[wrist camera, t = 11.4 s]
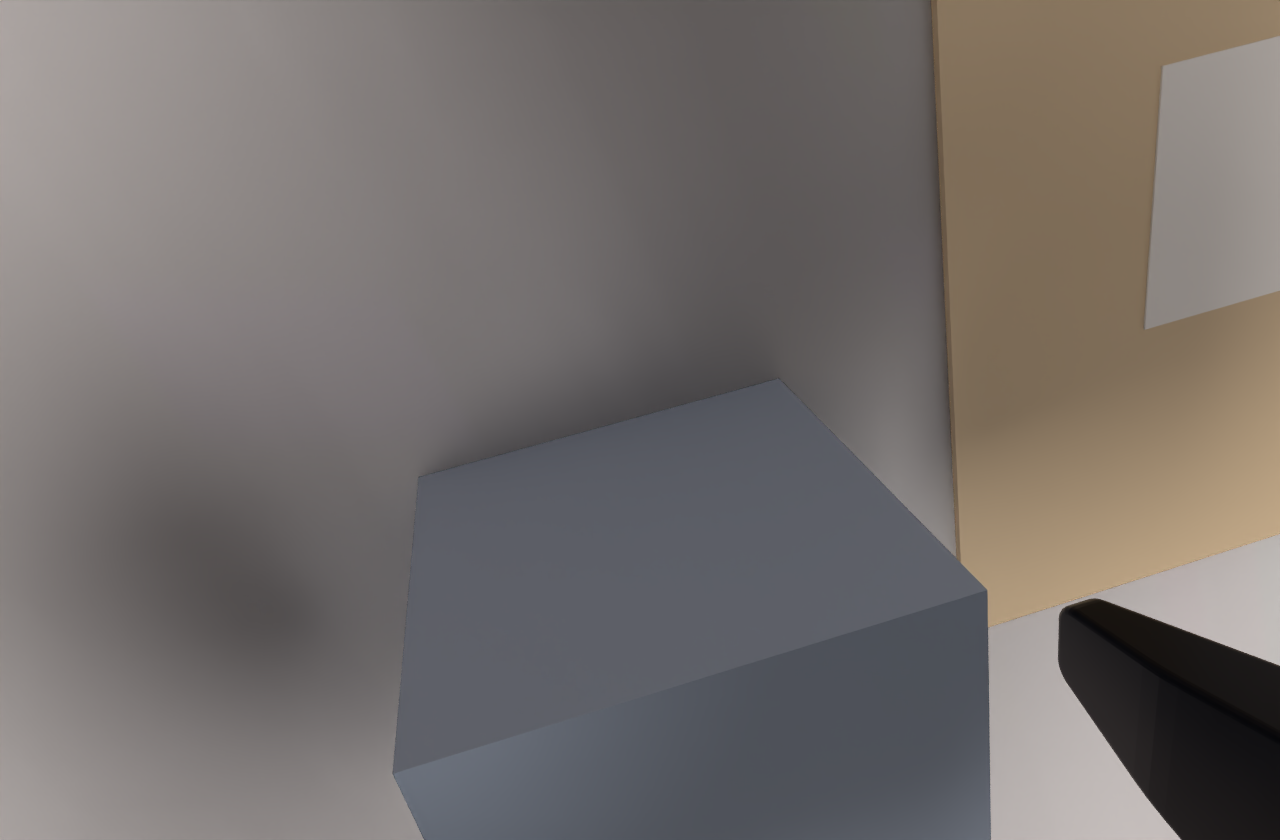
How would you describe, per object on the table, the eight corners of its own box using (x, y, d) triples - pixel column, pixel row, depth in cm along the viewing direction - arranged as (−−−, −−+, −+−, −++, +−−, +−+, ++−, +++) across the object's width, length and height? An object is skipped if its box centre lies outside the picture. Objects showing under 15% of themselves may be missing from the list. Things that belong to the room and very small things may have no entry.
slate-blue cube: (518, 741, 13) (550, 1104, 9) (418, 474, 11) (392, 773, 6) (813, 649, 13) (992, 947, 9) (776, 377, 11) (987, 589, 7)
